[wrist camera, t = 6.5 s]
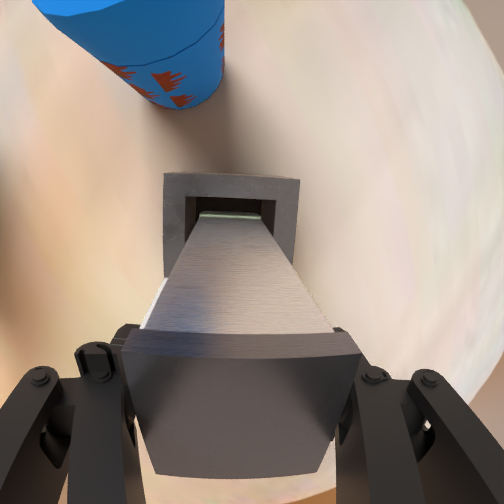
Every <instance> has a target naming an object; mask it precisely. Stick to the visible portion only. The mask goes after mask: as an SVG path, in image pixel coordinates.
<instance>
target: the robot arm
mask: <svg viewBox="0 0 504 504" xmlns="http://www.w3.org/2000/svg"><path fill="white" fill-rule="evenodd" d="M167 279H168V278H164V280H163V282H162V284H161V286H160V288H159V290H158V292H157V294H156V295H155V297H154V299H153V301H152V303H151V305H150V307H149V309H148V311H147V313H146V315H145V317H144V320H143V322H142V324H141V325H137V324H125V325H124V326H122V327H121V328H120V329H118V331H117V332H116V334H115V336H114V338H113V339H112V341H111V343H110V344H108V343H105V342H90V343H87V344H84V345H82V346H81V347H79V348H78V349H77V350H76V352H75V353H74V355H75V359H76V362H77V365H78V368H79V372H80V375H81V377H78V378H61V379H60V378H59V376H58V373H57V372H56V371H55V369H53V368H51V367H49V366H39V367H35V368H33V369H31V370H29V371H28V372H27V373H26V374H25V375H24V376H23V378H22V379H21V380H20V382H19V383H18V384H17V386H16V387H15V389H14V390H13V391H12V393H11V394H10V396H9V397H8V399H7V400H6V402H5V403H4V404H3V406H2V407H1V409H0V504H58V501H59V498H60V495H61V491H62V488H63V485H64V482H65V479H66V476H67V474H68V491H67V504H146V501H145V495H144V489H143V482H142V476H141V468H140V460H139V451H138V442H137V430H136V426H135V423H134V419H135V415H136V413H135V410H134V406H133V402H132V399H131V395H130V391H129V387H128V383H127V379H126V374H125V370H124V365H123V361H122V356H121V349H122V347H123V345H124V343H125V341H126V339H127V337H128V335H129V333H130V331H131V330H132V328H136V329H144V327H145V325H146V323H147V321H148V319H149V317H150V314H151V312H152V310H153V308H154V306H155V304H156V302H157V300H158V298H159V296H160V293H161V291H162V289H163V287H164V285H165V283H166V281H167ZM332 329H333V330H334V332H346V331H344V330H343V329H341V328H340V327H338V328H332ZM427 420H428V422H429V423H430V425H431V427H430V428H429V429H428V428H427V427H426V426H425V425H424V424H425V423H426V421H427ZM334 437H335V449H336V504H504V450H503V449H502V447H501V446H500V445H499V443H498V442H497V441H496V439H495V438H494V437H493V436H492V434H491V433H490V432H489V431H488V429H487V428H486V427H485V426H484V424H483V423H482V422H481V421H480V419H479V418H478V417H477V416H476V415H475V413H474V412H473V411H472V410H471V409H470V407H469V406H468V405H467V404H466V403H465V401H464V400H463V399H462V398H461V397H460V396H459V394H458V393H457V392H456V391H455V390H454V389H453V388H452V386H451V385H450V384H449V383H448V382H447V381H446V380H445V378H444V377H443V376H442V375H440V374H439V373H438V372H435V371H434V370H429V369H420V370H417V371H415V373H414V374H413V375H412V378H411V380H395V379H392V378H391V376H390V375H389V373H388V372H386V371H385V370H384V369H382V368H379V367H377V366H371V365H370V364H369V362H368V361H367V359H366V358H365V356H364V355H363V354H362V355H361V359H360V362H359V365H358V368H357V371H356V375H355V378H354V381H353V384H352V387H351V389H350V392H349V395H348V398H347V401H346V403H345V406H344V409H343V412H342V414H341V417H340V419H339V422H338V424H337V427H336V429H335V432H334V434H333V437H332V439H331V441H333V439H334Z"/></svg>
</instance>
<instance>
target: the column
mask: <svg viewBox="0 0 504 504" xmlns="http://www.w3.org/2000/svg"><path fill="white" fill-rule="evenodd" d="M361 355H362V352H361V351H360V349H359V348H358V346H357V345H356V343H355V342H354V341H353V339H352V338H351V336H350V335H349V333H348V332H334V330H333V329H332V327H331V325H330V324H329V322H328V321H327V319H326V318H325V316H324V315H323V313H322V311H321V310H320V308H319V307H318V305H317V304H316V302H315V301H314V299H313V297H312V296H311V294H310V293H309V291H308V290H307V288H306V287H305V285H304V284H303V282H302V281H301V279H300V277H299V276H298V274H297V273H296V271H295V270H294V268H293V267H292V265H291V264H290V262H289V261H288V259H287V258H286V256H285V255H284V253H283V252H282V250H281V249H280V247H279V246H278V244H277V243H276V241H275V240H274V238H273V237H272V235H271V234H270V232H269V231H268V229H267V228H266V226H265V225H264V223H263V222H262V220H261V216H260V215H257V213H247V212H224V211H203V212H201V213H200V214H199V219H198V221H197V223H196V225H195V227H194V229H193V231H192V232H191V234H190V236H189V238H188V240H187V242H186V244H185V246H184V248H183V250H182V252H181V253H180V255H179V257H178V259H177V261H176V263H175V265H174V267H173V269H172V271H171V273H170V275H169V277H168V279H167V281H166V283H165V285H164V287H163V289H162V291H161V293H160V296H159V298H158V300H157V302H156V304H155V306H154V308H153V310H152V312H151V314H150V317H149V319H148V321H147V323H146V325H145V327H144V329H136V328H132V330H131V331H130V333H129V335H128V337H127V339H126V341H125V343H124V345H123V347H122V349H121V356H122V361H123V365H124V370H125V374H126V379H127V383H128V387H129V391H130V395H131V399H132V402H133V406H134V410H135V413H136V417H137V420H138V423H139V427H140V430H141V433H142V436H143V439H144V442H145V445H146V448H147V451H148V454H149V457H150V460H151V462H152V465H153V468H154V470H155V473H156V474H160V475H168V476H178V477H190V478H208V479H253V478H271V477H283V476H292V475H301V474H308V473H315V472H317V470H318V468H319V466H320V464H321V462H322V460H323V457H324V455H325V453H326V451H327V448H328V446H329V444H330V441H331V439H332V437H333V434H334V432H335V429H336V427H337V424H338V422H339V419H340V417H341V414H342V412H343V409H344V406H345V403H346V401H347V398H348V395H349V392H350V389H351V387H352V384H353V381H354V378H355V375H356V371H357V368H358V365H359V362H360V359H361Z"/></svg>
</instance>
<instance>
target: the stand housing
mask: <svg viewBox="0 0 504 504" xmlns="http://www.w3.org/2000/svg"><path fill="white" fill-rule="evenodd" d="M299 187H300V179H293V178H287V177H280V176H267V175H252V174H233V173H208V172H173V173H164V185H163V261H164V278H168V277H169V275H170V273H171V271H172V269H173V267H174V265H175V263H176V261H177V259H178V257H179V255H180V253H181V252H182V250H183V248H184V246H185V244H186V242H187V240H188V238H189V236H190V234H191V232H192V231H193V229H194V227H195V225H196V196H200V197H228V198H249V199H262V208H261V220H262V222H263V223H264V225H265V226H266V228H267V229H268V231H269V232H270V234H271V235H272V237H273V238H274V240H275V241H276V243H277V244H278V246H279V247H280V249H281V250H282V252H283V253H284V255H285V256H286V258H287V259H288V261H289V262H290V264H291V265H292V262H293V252H294V242H295V232H296V222H297V211H298V199H299Z"/></svg>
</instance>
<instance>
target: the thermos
mask: <svg viewBox="0 0 504 504" xmlns="http://www.w3.org/2000/svg"><path fill="white" fill-rule="evenodd" d="M32 3H33V4H34V5H35V6H36V7H37V8H38V9H39V11H40V12H41V13H42V14H43V15H44V16H45V17H46V18H47V19H48V20H49V21H50V22H51V23H52V24H53V25H54V26H55V27H56V28H57V29H58V30H60V31H61V32H62V33H64V34H65V35H66V36H68V37H69V38H70V39H72V40H73V41H74V42H76V43H77V44H78V45H80V46H81V47H82V48H84V49H85V50H86V51H87V52H89V53H90V54H91V55H93V56H94V57H95V58H96V59H98V60H99V61H100V62H101V63H103V64H104V65H105V66H107V67H108V68H109V69H110V70H112V71H113V72H114V73H115V74H116V75H118V76H119V77H120V78H121V79H123V80H124V81H125V82H126V83H128V84H129V85H130V86H131V87H132V88H134V89H135V90H136V91H137V92H138V93H140V94H141V95H142V96H143V97H144V98H146V99H147V100H149V101H151V102H153V103H154V104H156V105H159V106H161V107H164V108H166V109H178V110H182V109H186V108H190V107H194V106H196V105H198V104H200V103H201V102H203V101H205V100H206V99H208V98H209V97H210V96H211V95H212V94H213V92H214V91H215V90H216V89H217V88H218V86H219V83H220V81H221V78H222V76H223V70H224V0H32Z"/></svg>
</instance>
